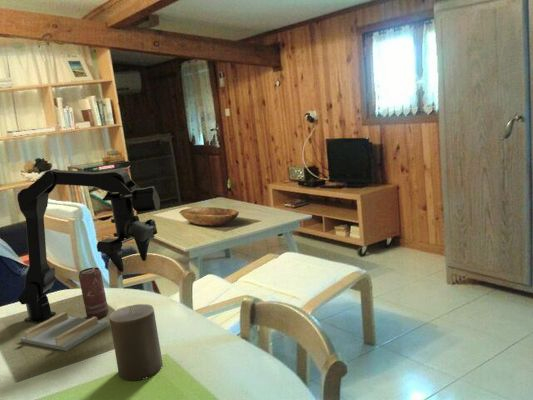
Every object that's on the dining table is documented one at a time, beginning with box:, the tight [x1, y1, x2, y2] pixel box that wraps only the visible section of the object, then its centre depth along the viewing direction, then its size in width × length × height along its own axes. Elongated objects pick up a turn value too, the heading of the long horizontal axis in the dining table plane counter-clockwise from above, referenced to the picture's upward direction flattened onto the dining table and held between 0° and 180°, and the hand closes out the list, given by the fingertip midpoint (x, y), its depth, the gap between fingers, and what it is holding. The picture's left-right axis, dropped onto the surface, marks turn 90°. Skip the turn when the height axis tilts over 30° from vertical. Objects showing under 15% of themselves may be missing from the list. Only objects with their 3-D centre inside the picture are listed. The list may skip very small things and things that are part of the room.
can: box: [78, 266, 109, 320], centre depth 145 cm, size 6×6×14 cm
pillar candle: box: [108, 303, 164, 381], centre depth 111 cm, size 10×10×15 cm
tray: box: [20, 311, 110, 352], centre depth 136 cm, size 18×14×3 cm
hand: (133, 266), depth 145 cm, fingers open, 9 cm apart
